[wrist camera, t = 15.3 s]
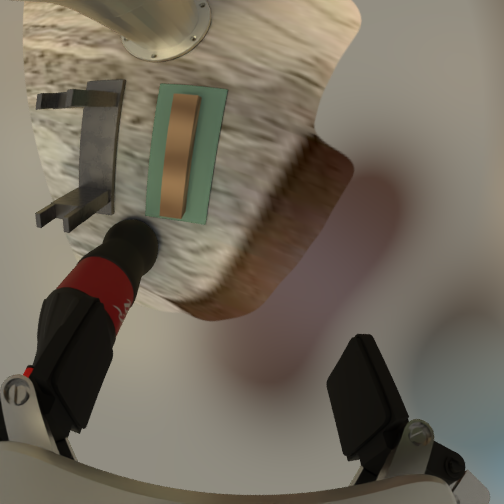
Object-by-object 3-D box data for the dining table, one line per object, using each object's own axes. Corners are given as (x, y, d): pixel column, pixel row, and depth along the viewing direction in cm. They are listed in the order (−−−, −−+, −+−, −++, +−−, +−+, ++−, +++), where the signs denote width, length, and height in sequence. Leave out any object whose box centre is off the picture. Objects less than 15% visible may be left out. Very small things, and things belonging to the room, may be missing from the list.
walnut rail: (179, 95, 31) (173, 93, 28) (201, 97, 31) (198, 95, 28) (165, 208, 38) (159, 215, 35) (185, 211, 38) (181, 219, 35)
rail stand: (90, 82, 29) (38, 76, 18) (125, 80, 29) (79, 69, 18) (82, 208, 37) (37, 242, 26) (114, 212, 38) (73, 249, 27)
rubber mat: (161, 84, 30) (160, 83, 30) (227, 90, 31) (227, 89, 31) (146, 214, 38) (145, 215, 38) (205, 223, 39) (205, 224, 39)
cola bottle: (114, 259, 42) (20, 410, 15) (112, 211, 38) (-20, 352, 11) (161, 267, 43) (92, 443, 16) (163, 218, 39) (59, 392, 12)
